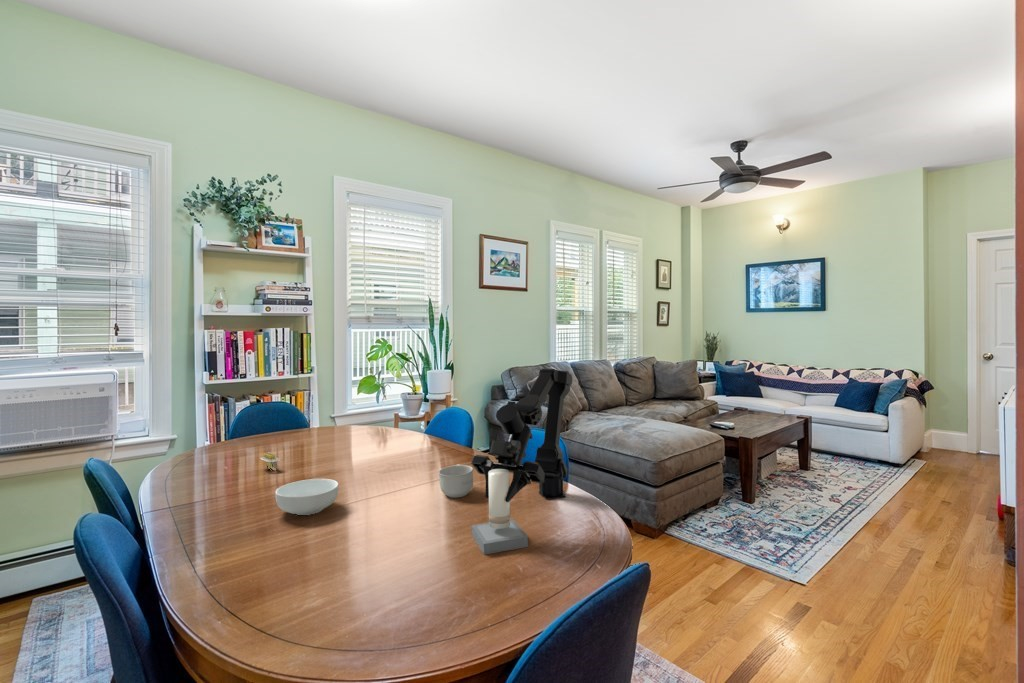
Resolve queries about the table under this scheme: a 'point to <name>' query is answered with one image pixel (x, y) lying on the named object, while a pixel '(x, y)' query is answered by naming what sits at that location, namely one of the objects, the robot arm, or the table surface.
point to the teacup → (456, 480)
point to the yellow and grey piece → (270, 460)
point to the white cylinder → (499, 498)
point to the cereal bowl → (307, 496)
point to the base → (499, 537)
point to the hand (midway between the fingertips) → (496, 499)
